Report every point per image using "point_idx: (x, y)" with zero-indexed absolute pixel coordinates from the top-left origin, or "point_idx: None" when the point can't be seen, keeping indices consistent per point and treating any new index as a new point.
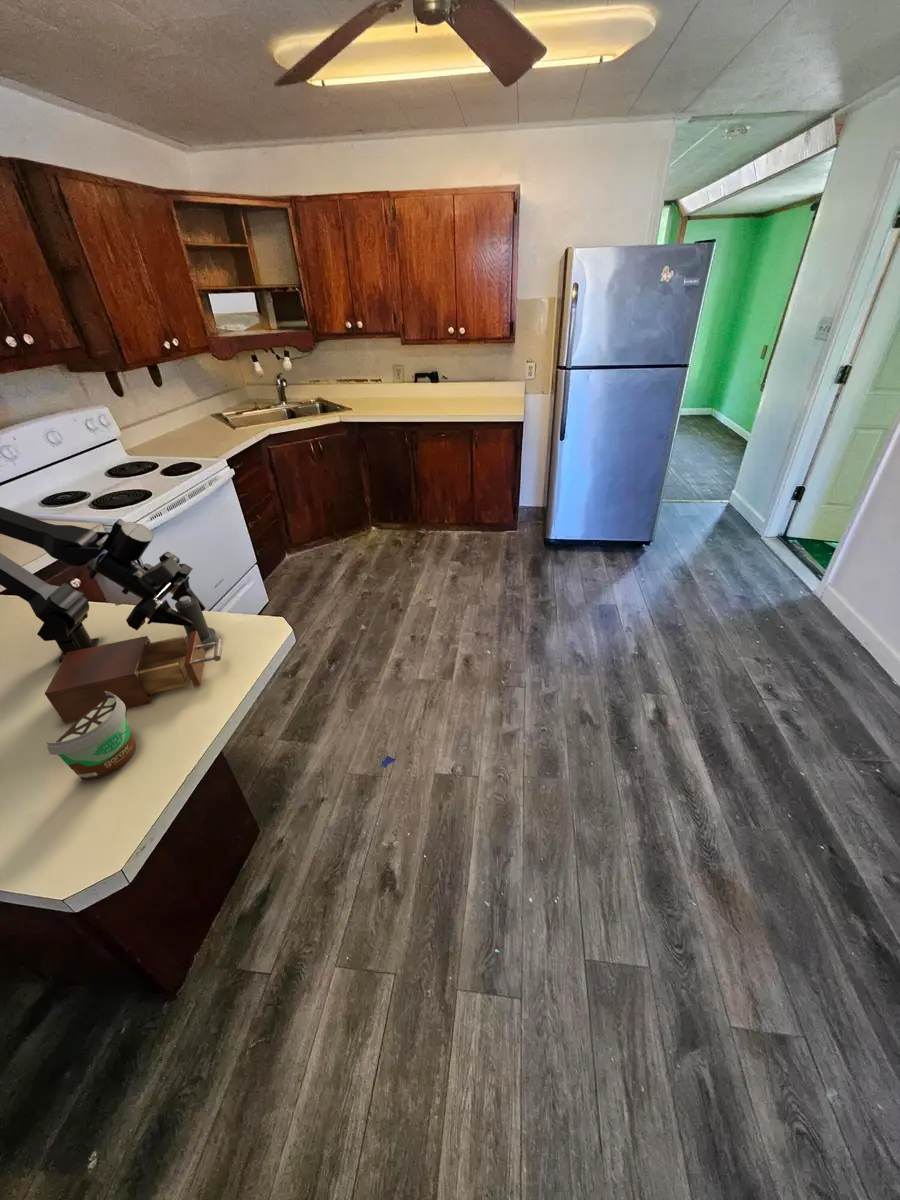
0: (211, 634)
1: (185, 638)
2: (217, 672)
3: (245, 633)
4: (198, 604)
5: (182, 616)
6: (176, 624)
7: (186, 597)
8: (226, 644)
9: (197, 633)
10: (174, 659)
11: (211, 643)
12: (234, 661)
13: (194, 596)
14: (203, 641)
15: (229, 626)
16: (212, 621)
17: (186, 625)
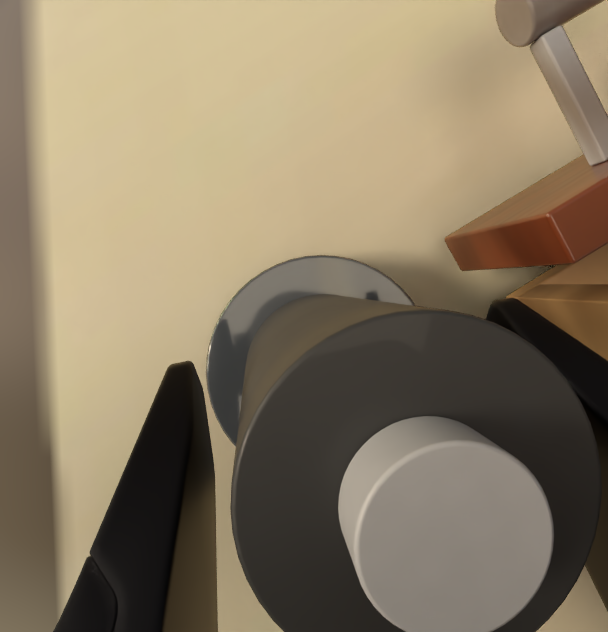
0: (292, 286)
1: None
2: None
3: (158, 107)
4: (326, 323)
5: (598, 389)
6: None
7: (415, 524)
8: (303, 176)
9: (547, 208)
10: None
11: (568, 54)
12: (463, 9)
13: (133, 544)
14: (383, 292)
15: (95, 287)
16: (58, 462)
17: None
